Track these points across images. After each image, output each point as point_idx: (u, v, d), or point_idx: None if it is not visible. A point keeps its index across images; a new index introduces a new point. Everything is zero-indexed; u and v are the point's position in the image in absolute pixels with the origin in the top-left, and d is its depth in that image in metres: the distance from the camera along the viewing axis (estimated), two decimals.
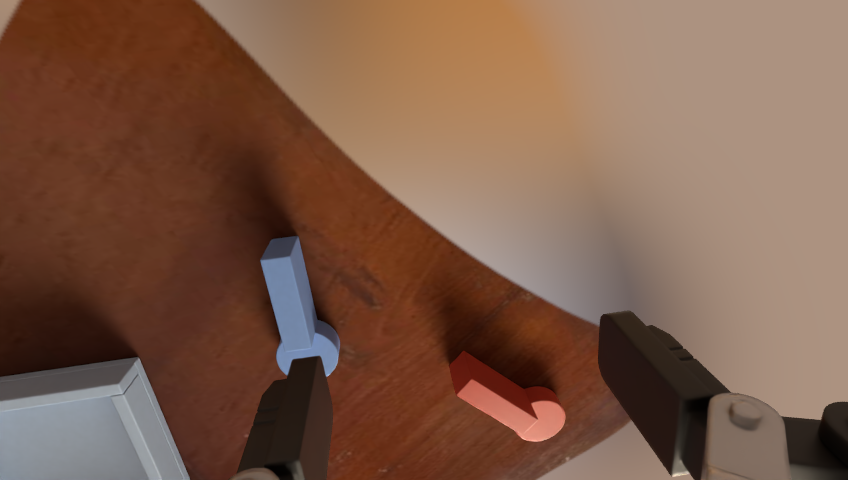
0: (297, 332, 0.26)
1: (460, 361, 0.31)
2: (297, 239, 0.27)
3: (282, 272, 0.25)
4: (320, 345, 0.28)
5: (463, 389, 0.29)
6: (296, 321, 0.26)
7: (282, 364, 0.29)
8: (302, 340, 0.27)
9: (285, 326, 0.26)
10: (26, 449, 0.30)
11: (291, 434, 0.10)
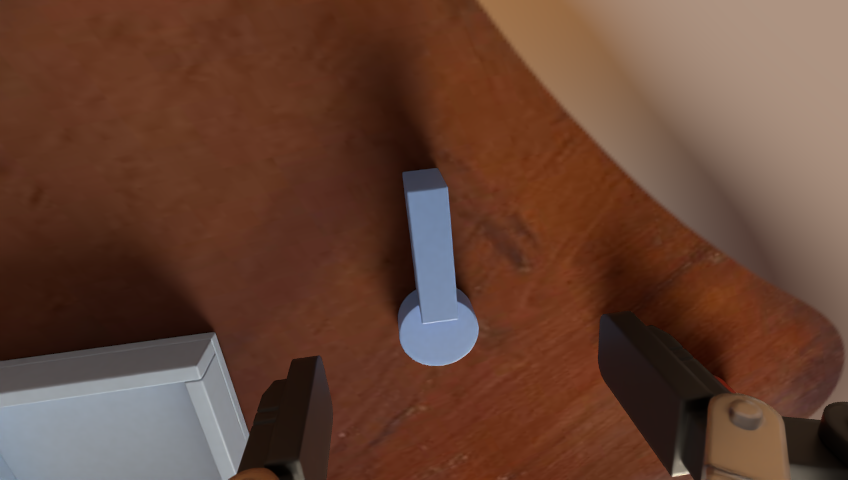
0: (443, 296, 0.19)
1: None
2: (439, 171, 0.20)
3: (434, 210, 0.18)
4: (458, 317, 0.22)
5: None
6: (443, 281, 0.19)
7: (406, 342, 0.22)
8: (447, 308, 0.20)
9: (427, 289, 0.19)
10: (66, 451, 0.23)
11: (291, 434, 0.10)
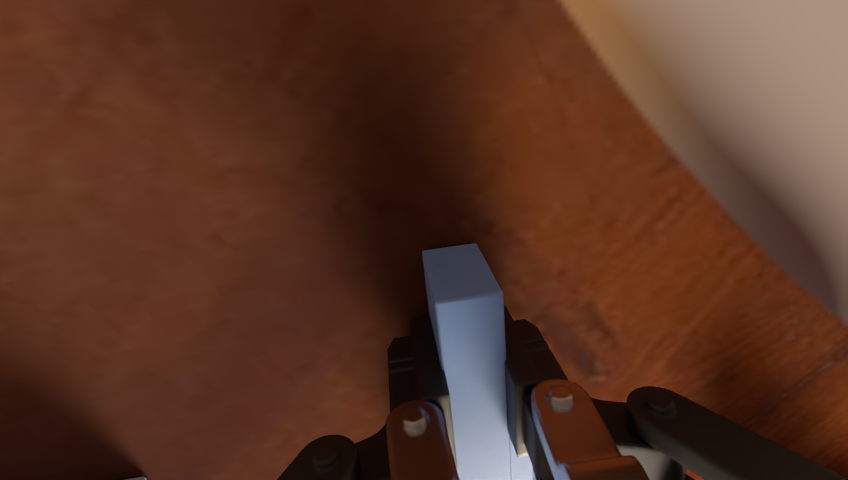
0: (489, 452, 0.12)
1: None
2: (479, 250, 0.13)
3: (481, 329, 0.11)
4: None
5: None
6: (491, 430, 0.12)
7: None
8: (496, 466, 0.12)
9: (465, 442, 0.12)
10: None
11: (435, 376, 0.11)
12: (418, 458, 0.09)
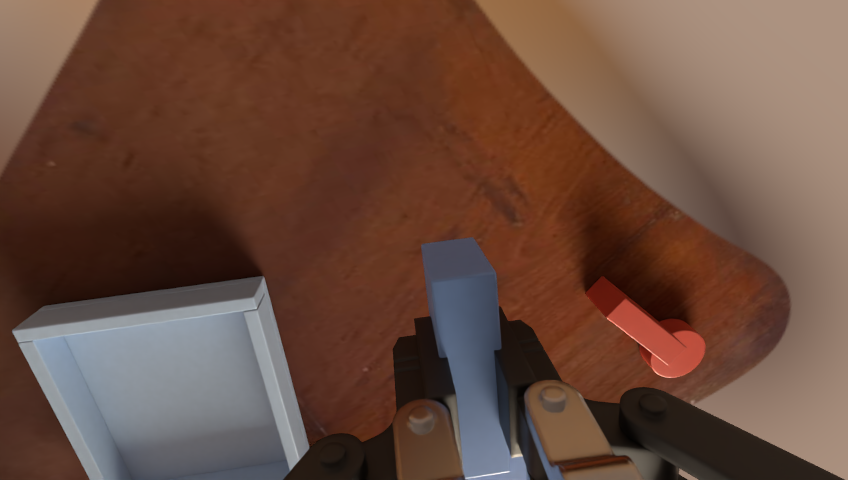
0: (486, 439, 0.12)
1: (600, 286, 0.29)
2: (476, 243, 0.13)
3: (475, 309, 0.11)
4: None
5: (614, 311, 0.27)
6: (488, 416, 0.12)
7: None
8: (494, 456, 0.12)
9: (462, 428, 0.12)
10: (138, 378, 0.28)
11: (441, 375, 0.11)
12: (424, 457, 0.09)
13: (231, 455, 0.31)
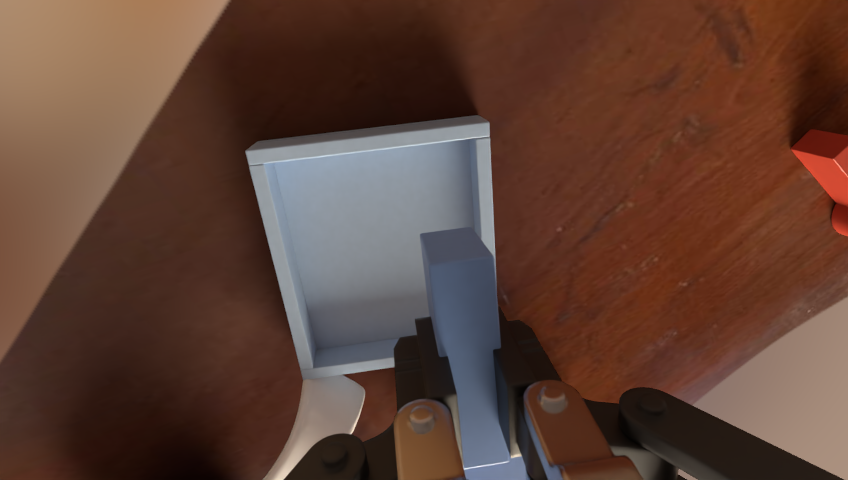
0: (485, 428, 0.12)
1: (813, 137, 0.28)
2: None
3: (473, 294, 0.11)
4: None
5: (843, 152, 0.26)
6: (487, 404, 0.12)
7: None
8: (493, 445, 0.12)
9: (461, 416, 0.12)
10: (340, 226, 0.27)
11: (441, 375, 0.11)
12: (425, 457, 0.09)
13: None
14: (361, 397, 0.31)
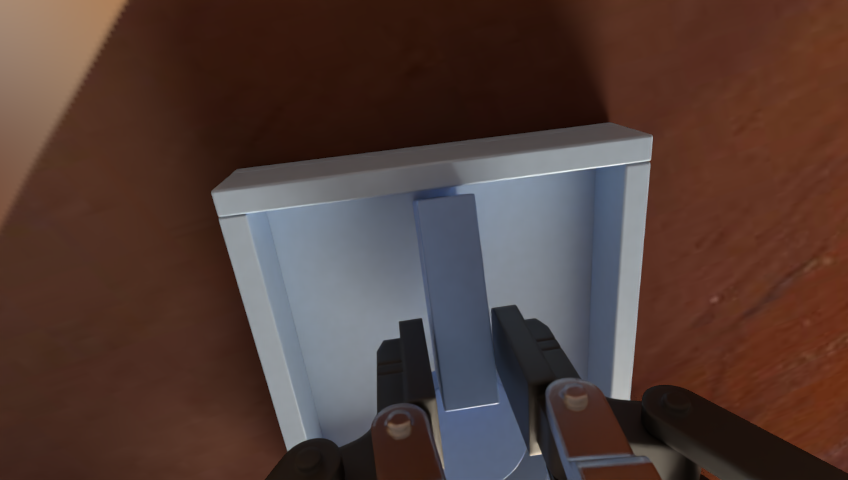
0: (474, 365, 0.13)
1: None
2: None
3: (457, 229, 0.12)
4: (497, 408, 0.15)
5: None
6: (475, 340, 0.13)
7: None
8: (483, 384, 0.13)
9: (451, 352, 0.13)
10: (376, 305, 0.17)
11: (422, 379, 0.11)
12: (404, 461, 0.09)
13: None
14: None
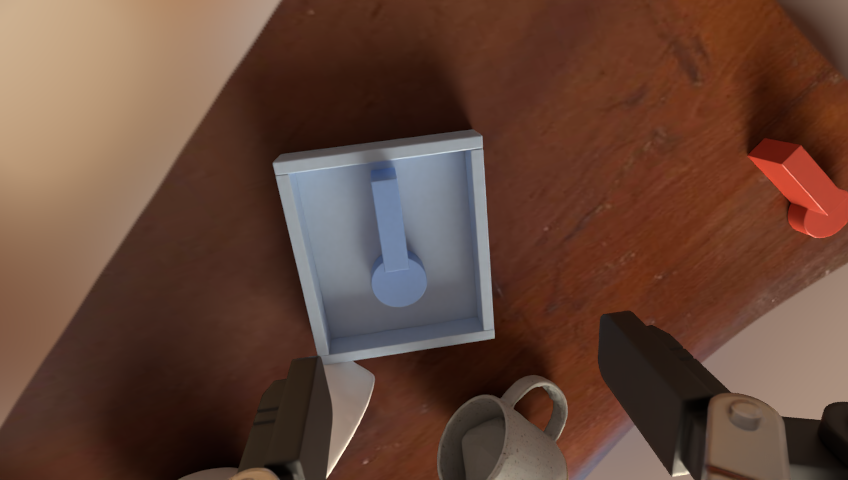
0: (398, 252, 0.29)
1: (766, 145, 0.32)
2: None
3: (389, 194, 0.27)
4: (411, 270, 0.31)
5: (790, 157, 0.30)
6: (397, 242, 0.29)
7: (376, 289, 0.31)
8: (401, 260, 0.29)
9: (387, 247, 0.29)
10: (353, 228, 0.31)
11: (291, 434, 0.10)
12: None
13: (420, 311, 0.34)
14: (371, 382, 0.34)
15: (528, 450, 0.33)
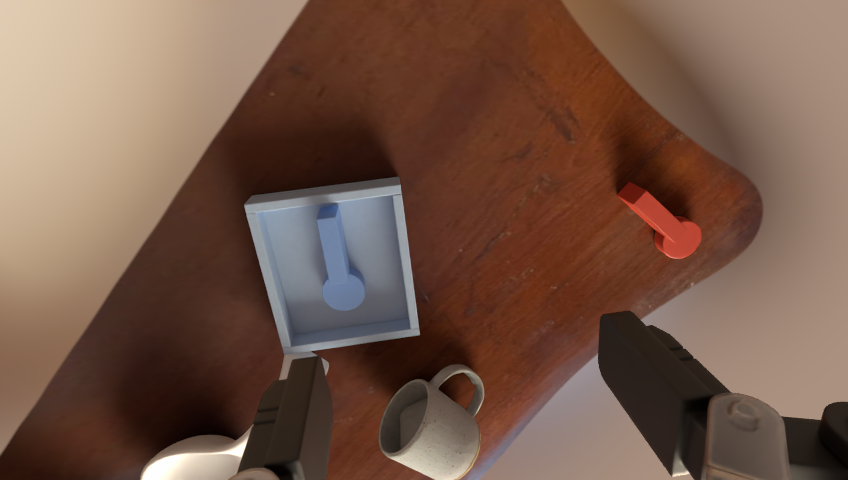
0: (339, 270, 0.38)
1: (628, 187, 0.41)
2: (338, 207, 0.39)
3: (330, 228, 0.37)
4: (353, 283, 0.41)
5: (639, 200, 0.39)
6: (338, 262, 0.38)
7: (326, 297, 0.41)
8: (342, 276, 0.39)
9: (330, 266, 0.38)
10: (308, 250, 0.41)
11: (291, 434, 0.10)
12: None
13: (363, 313, 0.44)
14: (325, 368, 0.44)
15: (445, 421, 0.43)
